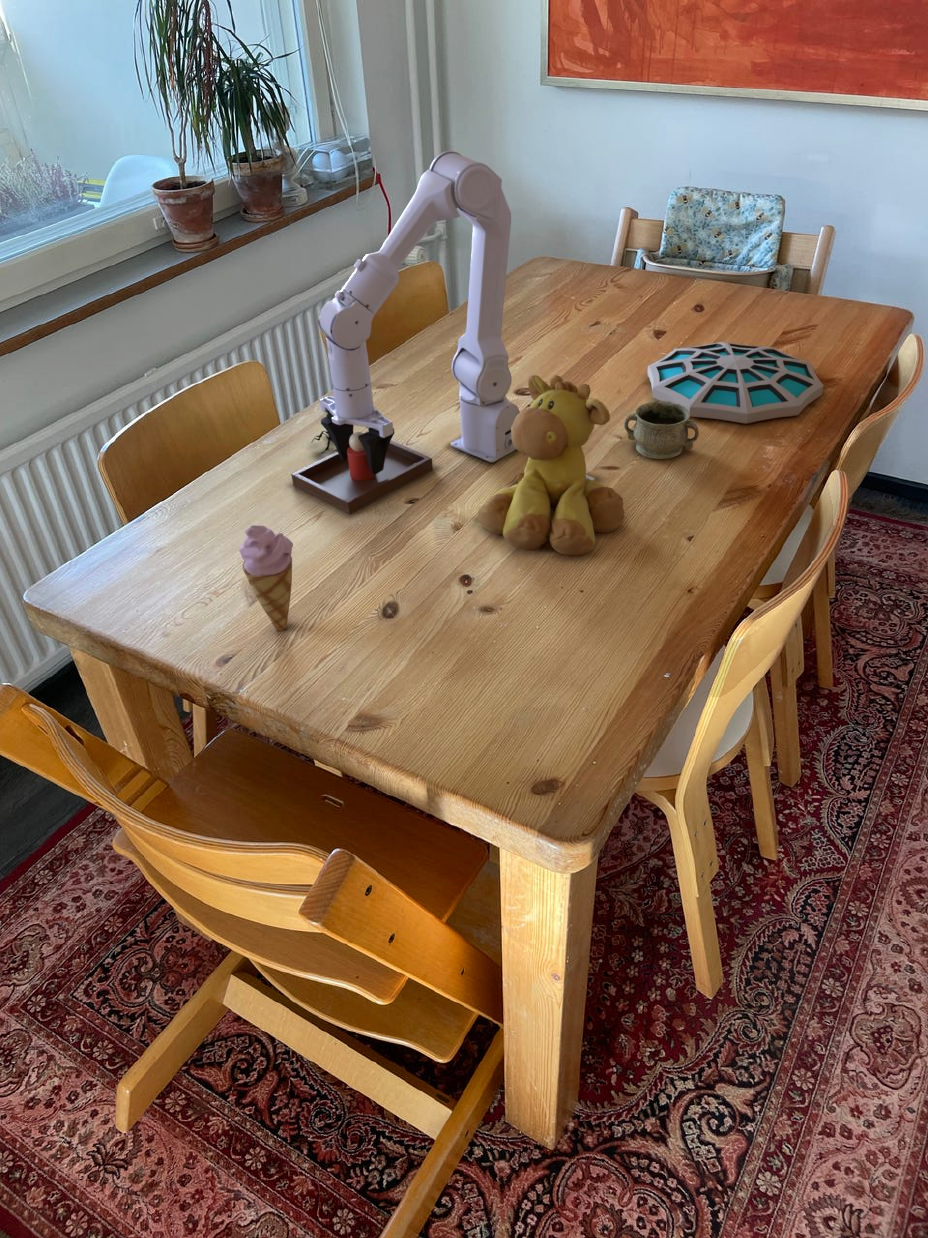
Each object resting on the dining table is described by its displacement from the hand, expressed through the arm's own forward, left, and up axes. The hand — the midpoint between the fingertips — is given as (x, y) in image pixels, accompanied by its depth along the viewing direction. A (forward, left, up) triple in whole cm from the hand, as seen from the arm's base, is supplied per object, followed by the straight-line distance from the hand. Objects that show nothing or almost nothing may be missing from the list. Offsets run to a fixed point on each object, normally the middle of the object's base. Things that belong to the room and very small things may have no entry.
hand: (361, 464), depth 147 cm
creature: (+12, -4, -2) cm, 13 cm away
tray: (0, 0, -2) cm, 2 cm away
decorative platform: (-27, -64, -2) cm, 70 cm away
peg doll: (0, 0, -2) cm, 2 cm away
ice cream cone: (-20, +32, -2) cm, 38 cm away
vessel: (-30, -37, -2) cm, 48 cm away
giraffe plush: (-30, -10, -2) cm, 32 cm away
